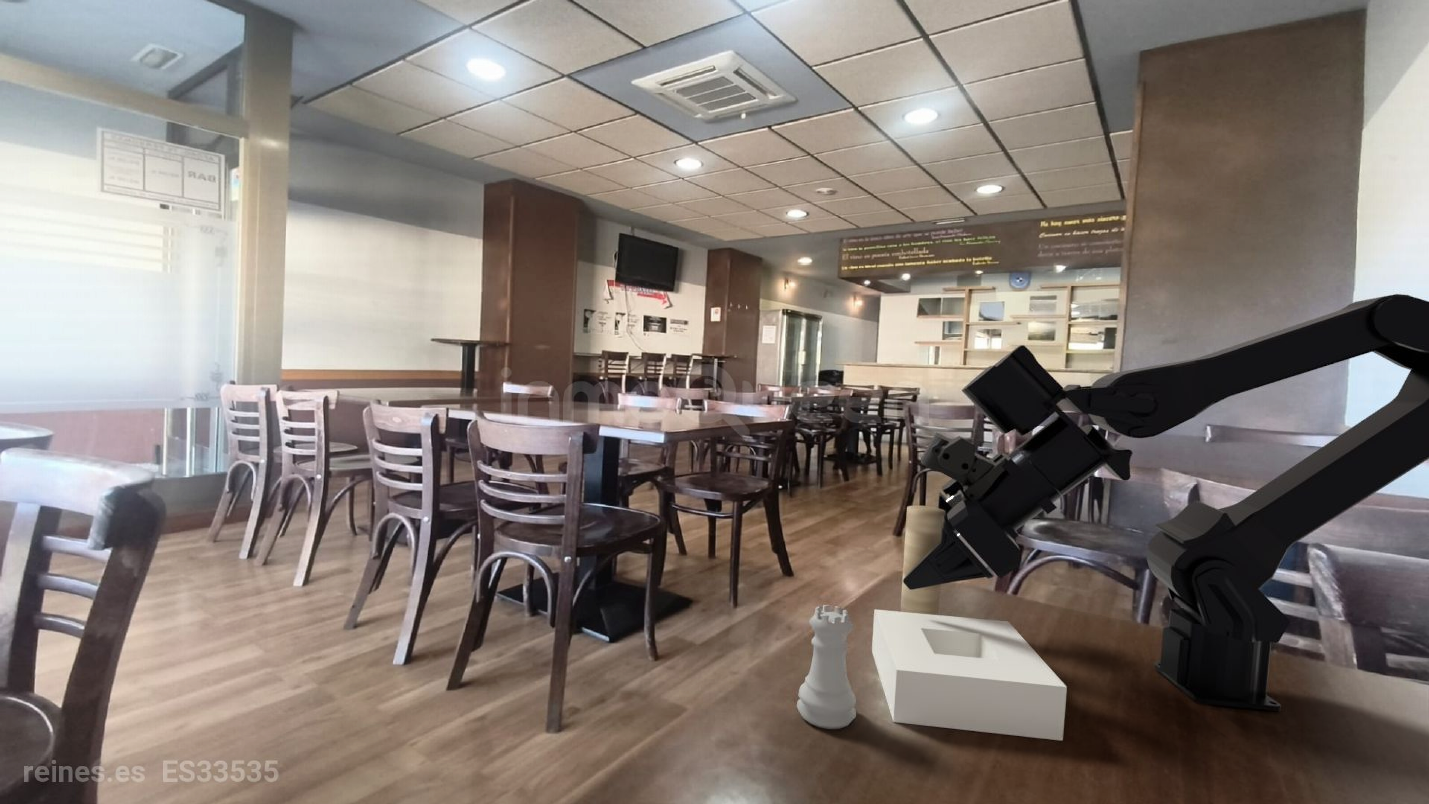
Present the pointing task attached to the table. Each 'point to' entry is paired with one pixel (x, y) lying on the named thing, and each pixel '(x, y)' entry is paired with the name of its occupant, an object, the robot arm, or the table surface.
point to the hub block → (966, 675)
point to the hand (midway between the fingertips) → (907, 570)
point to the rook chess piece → (828, 673)
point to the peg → (920, 557)
